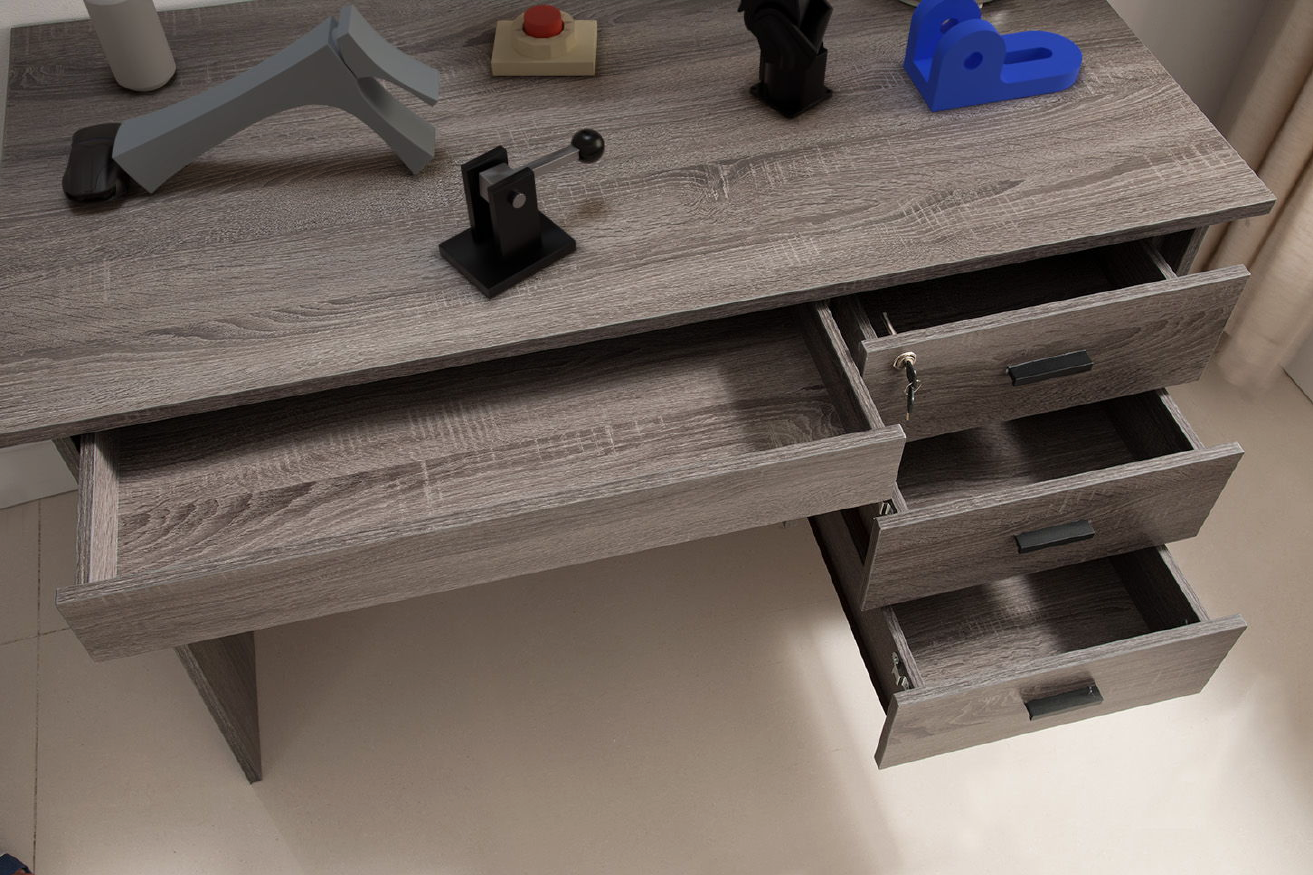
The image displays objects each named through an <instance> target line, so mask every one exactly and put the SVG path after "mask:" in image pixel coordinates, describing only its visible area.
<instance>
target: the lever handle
mask: <svg viewBox="0 0 1313 875" xmlns="http://www.w3.org/2000/svg"><path fill="white" fill-rule="evenodd" d="M569 144H570V145H567V146H564V147H562V148H560V149H558V150H556V151H553V152H550V153H549V154H546V155H544V156H541V157H539V158H537V159H535V160H532V161H529V162H528V163H525V164H523V165H521V166H519V167H516V168H514V169H513V168H512V167H511V166H510V165H509V166H508V165H507V164H506V163H502V164H499V165H497V166H495V167H492V168H490V169H488V170H485V171H483V172H480V173H479V185H480V195H481V196H482V197H483V198H484V199H485V200H487V201H488V202H489V199H488V192H487V187H489V186H491V185H493V184H495V183H497V182H499V181H501V180H503V179H504V178H506V177H508V176H510V175H512V174H514V173H516V172H518V171H520V170H522V169H523V168H525V167H529V168H530V169H531V170H533V171H534V175H535V179H536V178H539V177H540V176H543V175H545V174H548V173H549V172H552V171H555V170H557V169H559V168H561V167H564V166H566V165H569V164H570V163H573V162H575V161H577V162H579V163H581V164H584V165H592V164H595V163H597V162H598V161H599V160H601V158H602V157H603V156H604V153H605V150H606V143H605V140H604V137H603V136H602V134H601V133H600V132H599V131H597V130H595V129H593V128H587V127H586V128H582V129H579V130H578V131H576V132H575V134H573V136H572V137H571V139H570V143H569Z"/></svg>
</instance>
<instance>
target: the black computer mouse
mask: <svg viewBox="0 0 1313 875" xmlns="http://www.w3.org/2000/svg"><path fill="white" fill-rule="evenodd" d="M121 124H122V122H107V123H99V124H93V125H89V126H86V127H82V128H79V129H78V130H76V131H75V132H74V133H73V134H72V138H71V144H70V146H71V150H70V153H69V157H68V160H67V164H66V167H65V171H64V174H63V175H62V179H61V188H62V192H63V194H64V196H65V198H66V199H67V201H68V202H69V204H72V205H75V206H76V205H77V206H92V205H99V204H104V203H108V202H111V201H114V200H115V199H117V198H119V197H120V196H122V195H124V194H129V193H130V182H129V178H128V173H127V172H126V171H125V170H124V169H123V168H122V167H121V166H120V165H119V164H118V163H117V162H116V161H115V160H114V159H113V158H112V154H113V147H114V142H115V138H116V135H117V132H118V130H119V128H120V126H121Z"/></svg>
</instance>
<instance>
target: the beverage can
mask: <svg viewBox="0 0 1313 875" xmlns="http://www.w3.org/2000/svg"><path fill="white" fill-rule="evenodd" d="M82 1H83V4H84V6H85V9H86V10H87V13H88V16H89V18H90V21H91V23H92V26H93V28H94V31H95V33H96V36H97V38H98V40H99V43H100V46H101V48H102V51H103V53H104V55H105V57H106V60H107V62H108V65H109V67H110V70H111V72H112V75H113V77H114V79H115V81H116V82H117V84H118V85H120V86H121V87H123V88H126V89H128V90H132V91H135V92H150V91H155V90H157V89H160V88H162V87H163V86H165V85H166V84H168V82H169V81H170V80H171V78H172V77H173V76H174V75H175V72H176V70H177V65H176V60H175V59H174V56H173V53H172V51H171V47H170V45H169V42H168V40H167V37H166V36H167V35H166V34H165V31H164V28H163V25H162V23H161V21H160V18H159V14H158V12H157V9H156V7H155V4H154V1H153V0H82Z"/></svg>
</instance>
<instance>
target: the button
mask: <svg viewBox="0 0 1313 875" xmlns="http://www.w3.org/2000/svg"><path fill="white" fill-rule="evenodd" d="M559 10H560V9H559V8H557V7H556V6H553V5H551V4H538V5H534V6H531V7H529V8H528V9H526V10H525V11H524V12H525V13H524V12H523V13H524V25H525V32H526V34H527V35H528V36H531V37H533V38H550V37H553V36H556V35H559V34H560V33H561V31H562V19H561V12H560V11H561V10H560V11H559Z"/></svg>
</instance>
